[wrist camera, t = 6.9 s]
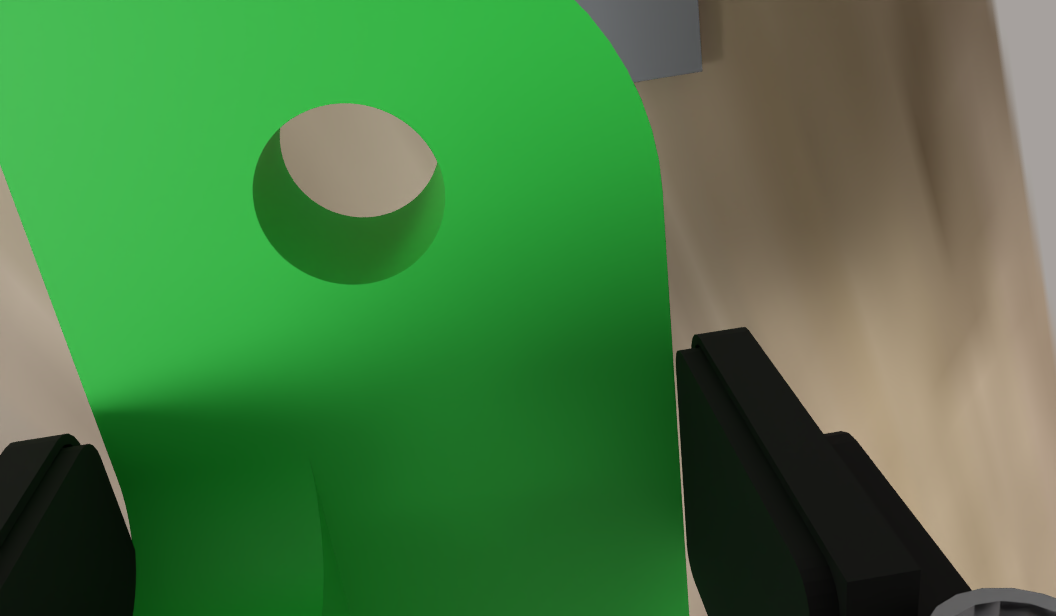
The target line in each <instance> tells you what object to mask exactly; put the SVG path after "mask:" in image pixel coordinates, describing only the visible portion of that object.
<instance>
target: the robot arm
mask: <svg viewBox="0 0 1056 616" xmlns="http://www.w3.org/2000/svg"><path fill="white" fill-rule="evenodd" d="M676 375H677V391H678V407H679V424H680V440H681V456H682V472H683V488H684V505H685V521H686V537H687V550H688V557H689V562H690V567H691V571H692V575H693V578H694V581H695V584H696V586H697V589H698V591H699V594H700V597H701V599H702V602H703V604H704V607H705V609H706V612H707V615H708V616H1056V598H1053V597H1051V596H1048V595H1045V594H1041V593H1036V592H1031V591H1025V590H1020V589H1015V588H981V589H977V590H973V591H972V590H971V589H970V587H969V586H968V585H967V584H966V582H965V581H964V580H963V578H962V577H961V576H960V574H959V573H958V572H957V571H956V569H955V568H954V567H953V565H952V564H951V563H950V561H949V560H948V559H947V558H946V556H945V555H944V554H943V552H942V551H941V550H940V548H939V547H938V546H937V545H936V543H935V542H934V541H933V539H932V538H931V537H930V535H929V534H928V533H927V532H926V530H925V529H924V528H923V526H922V525H921V524H920V522H919V521H918V520H917V519H916V517H915V516H914V515H913V513H912V512H911V511H910V509H909V508H908V507H907V506H906V504H905V503H904V502H903V500H902V499H901V498H900V496H899V495H898V494H897V493H896V491H895V490H894V489H893V487H892V486H891V485H890V483H889V482H888V481H887V480H886V478H885V477H884V476H883V474H882V473H881V472H880V470H879V469H878V468H877V467H876V465H875V464H874V463H873V461H872V460H871V459H870V457H869V456H868V455H867V454H866V452H865V451H864V450H863V448H862V447H861V446H860V444H859V443H858V442H857V441H856V440H855V439H854V438H853V437H852V436H851V435H850V434H849V433H847V432H843V431H840V432H833V433H827V434H823V433H822V431H821V430H820V429H819V427H818V426H817V424H816V423H815V422H814V420H813V419H812V417H811V416H810V415H809V413H808V412H807V411H806V409H805V408H804V406H803V405H802V404H801V402H800V401H799V399H798V398H797V397H796V395H795V394H794V392H793V391H792V390H791V388H790V387H789V386H788V384H787V383H786V381H785V380H784V379H783V377H782V376H781V374H780V373H779V372H778V370H777V369H776V367H775V366H774V365H773V363H772V362H771V360H770V359H769V358H768V356H767V355H766V354H765V352H764V351H763V349H762V348H761V347H760V345H759V344H758V342H757V341H756V340H755V338H754V337H753V335H752V334H751V333H750V331H749V330H748V329H747V328H746V327H741V328H735V329H728V330H722V331H716V332H709V333H703V334H697V335H694V336H693V338H692V345H691V349H685V350H679V351H677V353H676ZM135 591H136V554H135V548H134V545H133V543H132V540H131V537H130V535H129V532H128V529H127V527H126V524H125V521H124V519H123V516H122V513H121V510H120V508H119V505H118V502H117V500H116V497H115V494H114V492H113V489H112V486H111V484H110V481H109V478H108V476H107V473H106V470H105V468H104V465H103V462H102V460H101V457H100V455H99V453H98V451H97V450H96V448H95V447H94V446H93V445H91V444H86V445H80V443H79V442H78V440H77V439H76V438H75V437H74V436H72V435H70V434H63V435H56V436H50V437H44V438H37V439H31V440H25V441H18V442H13V443H10V444H9V445H8V446H7V447H6V448H5V449H4V451H3V452H2V454H1V455H0V616H133V610H134V602H135Z"/></svg>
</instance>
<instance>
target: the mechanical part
mask: <svg viewBox="0 0 1056 616" xmlns="http://www.w3.org/2000/svg"><path fill="white" fill-rule="evenodd" d="M337 103H353V104H361V105H366V106H371V107H374V108H377V109H380V110H383V111H385V112H388V113H390V114H392V115H394V116H396V117H397V118H399V119H401V120H402V121H404V122H405V123H406V124H408V125H409V126H410V127H412V128H413V129H414V130H415V131H416V132H417V133H418V134H419V135H420V136H421V137H422V138H423V140H424V141H425V142H426V143H427V145H428V146H429V148H430V149H431V151H432V152H433V154H434V156H435V158H436V160H437V166H436V169H435V171H434V174H433V176H432V178H431V179H430V181H429V183H428V184H427V186H426V187H425V188H424V190H423V191H422V192H421V193H420V194H419V195H418V196H417V197H416V198H415V199H414V200H413V201H411V202H410V203H409V204H407V205H406V206H404V207H402V208H400V209H398V210H396V211H394V212H392V213H388V214H385V215H381V216H376V217H350V216H345V215H341V214H338V213H335V212H332V211H330V210H328V209H325V208H324V207H322V206H320V205H318V204H317V203H315V202H314V201H312V200H311V199H310V198H309V197H308V196H306V195H305V194H304V193H303V192H302V191H301V190H300V188H299V187H298V186H297V185H296V183H295V182H294V181H293V179H292V178H291V176H290V174H289V172H288V170H287V168H286V166H285V163H284V160H283V157H282V153H281V148H280V127H281V126H283V125H284V124H285V123H286V122H288V121H289V120H290V119H292V118H294V117H295V116H297V115H299V114H301V113H303V112H305V111H307V110H310V109H313V108H316V107H319V106H324V105H329V104H337ZM0 165H1V168H2V171H3V173H4V176H5V179H6V181H7V184H8V187H9V189H10V192H11V195H12V197H13V200H14V203H15V206H16V208H17V211H18V214H19V216H20V219H21V222H22V224H23V227H24V230H25V232H26V235H27V238H28V240H29V243H30V246H31V248H32V251H33V254H34V256H35V259H36V262H37V265H38V267H39V270H40V273H41V275H42V278H43V281H44V283H45V286H46V289H47V291H48V294H49V297H50V299H51V302H52V305H53V307H54V310H55V313H56V316H57V318H58V321H59V324H60V326H61V329H62V332H63V334H64V337H65V340H66V342H67V345H68V348H69V350H70V353H71V356H72V358H73V361H74V364H75V366H76V369H77V372H78V375H79V377H80V380H81V383H82V385H83V388H84V391H85V393H86V396H87V399H88V401H89V404H90V407H91V409H92V412H93V415H94V417H95V420H96V423H97V425H98V428H99V431H100V434H101V436H102V439H103V442H104V444H105V447H106V450H107V452H108V455H109V458H110V460H111V463H112V466H113V468H114V471H115V474H116V476H117V479H118V482H119V485H120V488H121V491H122V494H123V497H124V501H125V505H126V509H127V513H128V519H129V524H130V530H131V538H132V543H133V545H134V548H135V554H136V591H135V602H134V610H133V616H689V605H688V589H687V573H686V558H685V542H684V526H683V510H682V494H681V478H680V462H679V446H678V430H677V414H676V398H675V382H674V366H673V350H672V334H671V319H670V303H669V287H668V271H667V255H666V239H665V223H664V207H663V191H662V182H661V174H660V165H659V158H658V154H657V150H656V145H655V141H654V137H653V132H652V129H651V126H650V123H649V120H648V117H647V114H646V111H645V109H644V106H643V103H642V100H641V98H640V96H639V94H638V91H637V89H636V87H635V85H634V83H633V81H632V79H631V77H630V75H629V73H628V70H627V69H626V67H625V65H624V64H623V62H622V61H621V59H620V57H619V56H618V54H617V53H616V51H615V49H614V48H613V46H612V44H611V43H610V41H609V40H608V39H607V37H606V36H605V35H604V34H603V32H602V31H601V30H600V28H599V27H598V26H597V25H596V23H595V22H594V21H593V20H592V18H591V17H590V16H589V14H588V13H587V12H586V11H585V10H584V9H583V8H582V7H581V6H580V5H579V4H578V3H577V2H576V1H575V0H0Z"/></svg>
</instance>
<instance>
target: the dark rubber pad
mask: <svg viewBox="0 0 1056 616" xmlns="http://www.w3.org/2000/svg"><path fill="white" fill-rule="evenodd" d="M575 1H576V2H577V3H578V4H579V5H580V6H581V7H582V8H583V9H584V10H585V11H586V12H587V13H588V14H589V16H590V17H591V18H592V20H593V21H594V22H595V23H596V25H597V26H598V27H599V28H600V30H601V31H602V32H603V34H604V35H605V36H606V37H607V39H608V40H609V41H610V43H611V44H612V46H613V48H614V49H615V51H616V53H617V54H618V56H619V57H620V59H621V61H622V62H623V64H624V65H625V67H626V69H627V70H628V73H629V75H630V77H631V79H632V81H633V82H639V81H645V80H652V79H658V78H664V77H670V76H676V75H683V74H689V73H695V72H701V71H702V57H701V41H700V25H699V9H698V0H575Z"/></svg>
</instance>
